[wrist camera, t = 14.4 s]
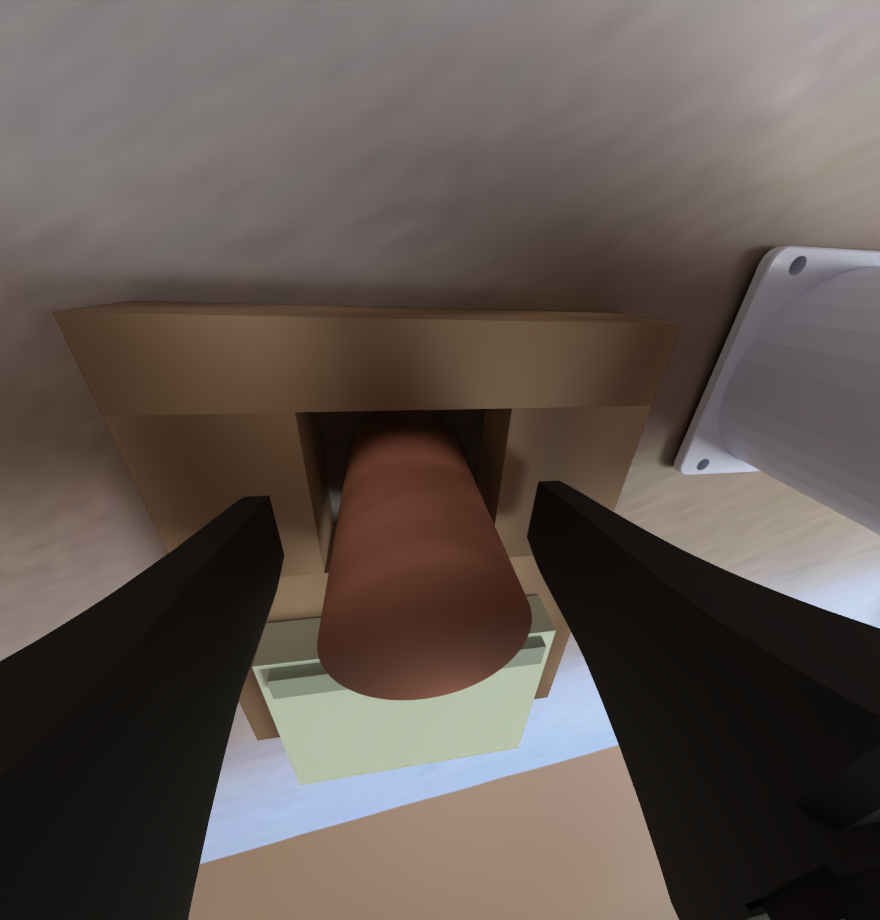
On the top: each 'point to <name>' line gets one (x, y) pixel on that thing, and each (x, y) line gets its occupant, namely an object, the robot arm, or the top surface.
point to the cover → (390, 708)
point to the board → (361, 389)
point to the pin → (416, 569)
